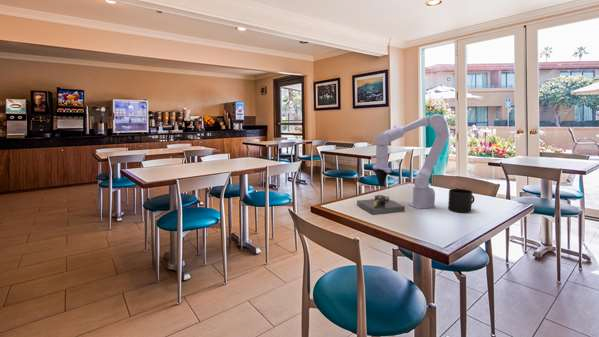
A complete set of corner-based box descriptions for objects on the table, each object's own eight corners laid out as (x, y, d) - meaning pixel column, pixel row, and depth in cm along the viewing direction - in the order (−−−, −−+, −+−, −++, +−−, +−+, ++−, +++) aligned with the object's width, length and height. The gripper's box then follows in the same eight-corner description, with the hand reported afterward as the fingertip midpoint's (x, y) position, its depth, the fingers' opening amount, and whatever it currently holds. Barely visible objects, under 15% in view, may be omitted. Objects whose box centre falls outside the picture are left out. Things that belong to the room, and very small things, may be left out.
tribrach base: (386, 202, 161) (386, 194, 160) (404, 211, 145) (404, 202, 145) (356, 205, 156) (357, 196, 156) (372, 214, 141) (372, 205, 140)
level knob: (376, 200, 154) (376, 194, 153) (386, 202, 151) (386, 195, 151) (369, 205, 145) (369, 199, 145) (380, 207, 143) (380, 200, 142)
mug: (481, 212, 143) (482, 192, 141) (457, 213, 141) (458, 193, 139) (466, 206, 152) (467, 187, 151) (443, 208, 150) (444, 189, 148)
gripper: (367, 156, 162) (367, 182, 164) (382, 159, 148) (381, 188, 150) (380, 155, 164) (379, 181, 166) (395, 159, 150) (394, 187, 152)
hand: (381, 184), depth 158 cm, fingers closed
